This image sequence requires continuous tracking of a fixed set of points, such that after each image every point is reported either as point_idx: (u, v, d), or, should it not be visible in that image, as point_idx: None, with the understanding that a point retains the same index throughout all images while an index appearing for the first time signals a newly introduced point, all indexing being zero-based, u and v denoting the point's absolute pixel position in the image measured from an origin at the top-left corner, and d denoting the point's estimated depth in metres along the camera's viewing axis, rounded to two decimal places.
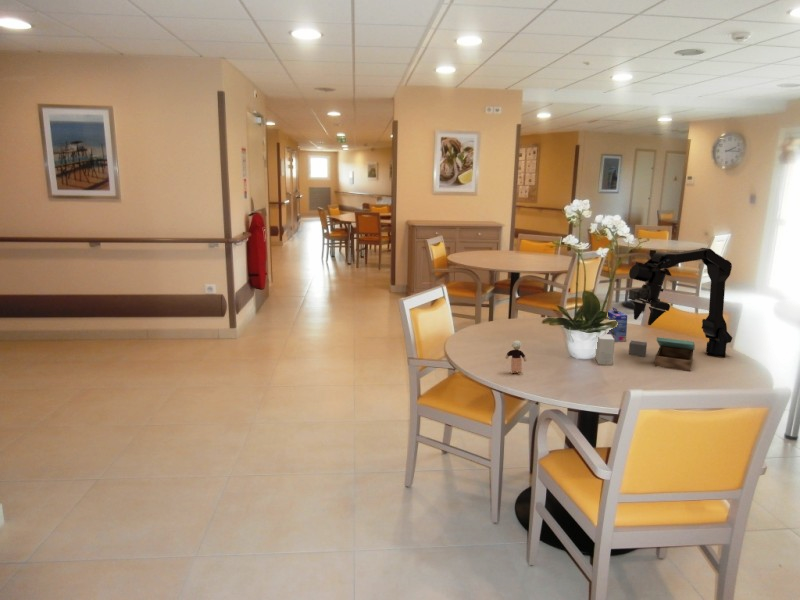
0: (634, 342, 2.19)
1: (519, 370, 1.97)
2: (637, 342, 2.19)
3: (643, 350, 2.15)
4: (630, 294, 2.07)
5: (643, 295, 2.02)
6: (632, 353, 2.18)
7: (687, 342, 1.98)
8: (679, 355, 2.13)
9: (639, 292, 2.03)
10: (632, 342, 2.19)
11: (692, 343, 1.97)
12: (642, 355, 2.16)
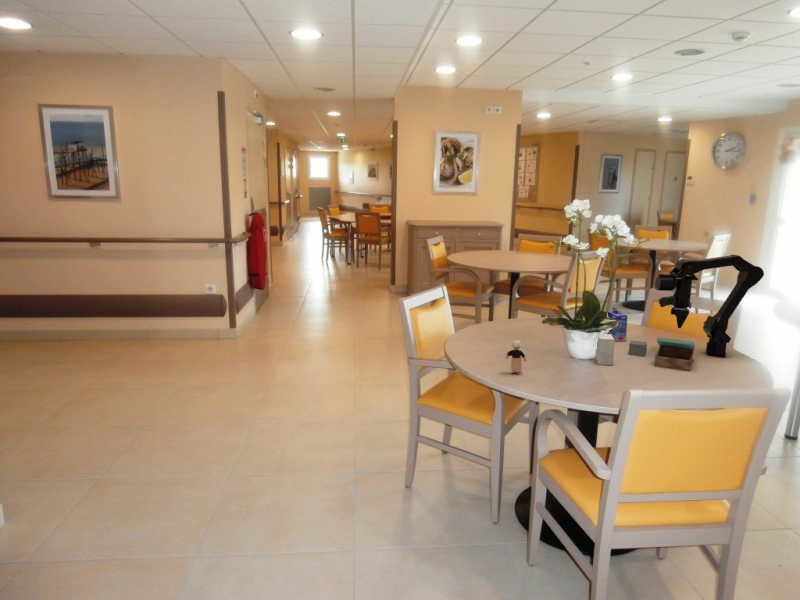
0: (634, 342, 2.19)
1: (519, 370, 1.97)
2: (637, 342, 2.19)
3: (643, 350, 2.15)
4: None
5: (664, 303, 2.14)
6: (632, 353, 2.18)
7: (687, 342, 1.98)
8: (679, 355, 2.13)
9: (660, 300, 2.16)
10: (632, 342, 2.19)
11: (692, 343, 1.97)
12: (642, 355, 2.16)
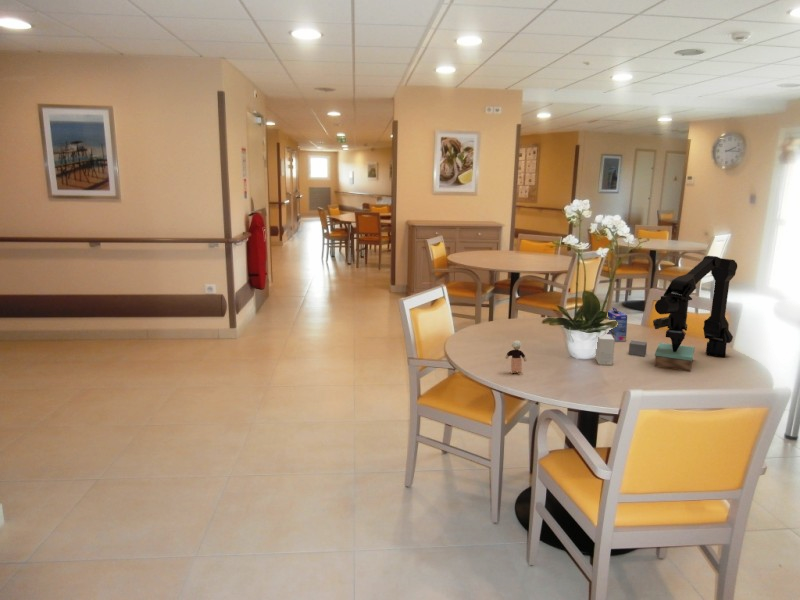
0: (634, 342, 2.19)
1: (519, 370, 1.97)
2: (637, 342, 2.19)
3: (643, 350, 2.15)
4: None
5: (658, 324, 2.02)
6: (632, 353, 2.18)
7: (685, 358, 1.98)
8: None
9: (655, 322, 2.04)
10: (632, 342, 2.19)
11: (690, 359, 1.97)
12: (642, 355, 2.16)
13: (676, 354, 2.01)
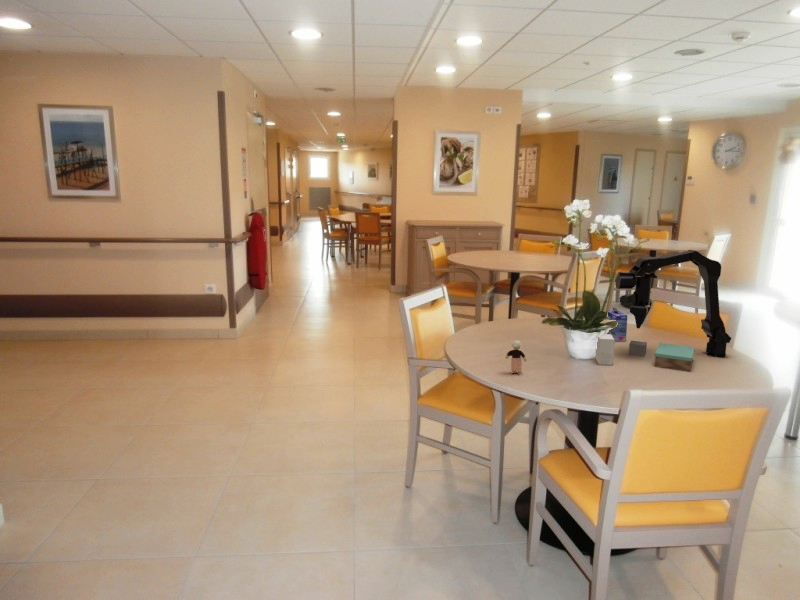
0: (634, 342, 2.19)
1: (519, 370, 1.97)
2: (637, 342, 2.19)
3: (643, 350, 2.15)
4: None
5: (624, 301, 2.14)
6: (632, 353, 2.18)
7: (685, 358, 1.98)
8: None
9: (621, 298, 2.16)
10: (632, 342, 2.19)
11: (690, 359, 1.97)
12: (642, 355, 2.16)
13: (676, 354, 2.01)
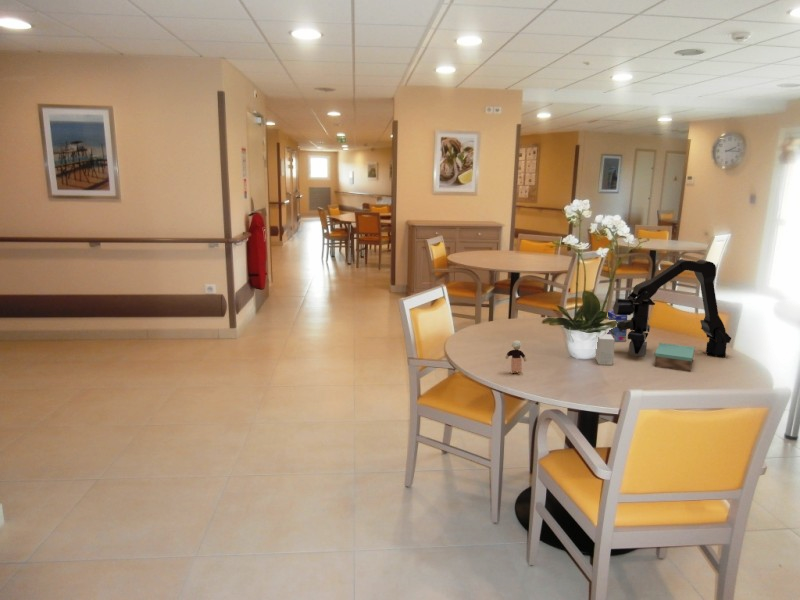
0: None
1: (519, 370, 1.97)
2: None
3: (643, 350, 2.15)
4: None
5: (622, 327, 2.17)
6: (632, 353, 2.18)
7: (685, 358, 1.98)
8: None
9: (619, 324, 2.18)
10: (632, 342, 2.19)
11: (690, 359, 1.97)
12: (642, 355, 2.16)
13: (676, 354, 2.01)
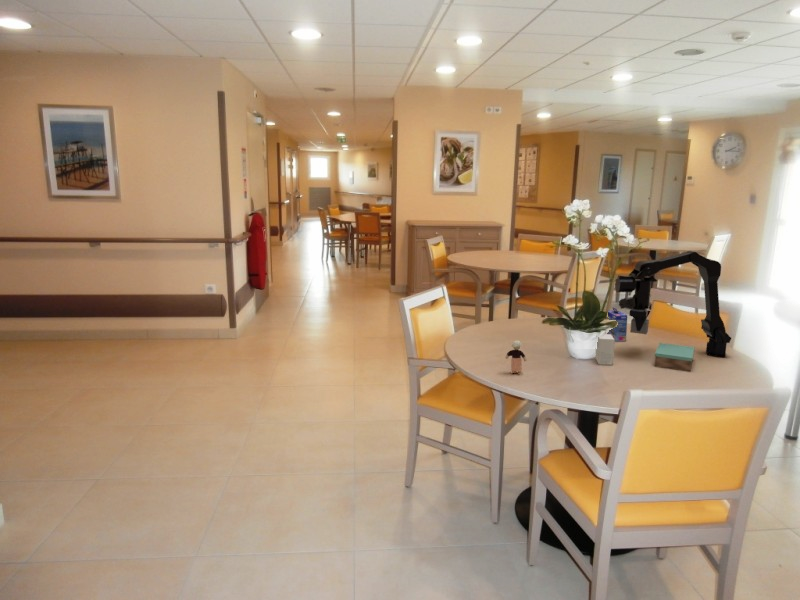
0: None
1: (519, 370, 1.97)
2: None
3: (645, 327, 2.14)
4: None
5: (623, 304, 2.15)
6: (634, 330, 2.16)
7: (685, 358, 1.98)
8: None
9: (620, 302, 2.16)
10: (634, 319, 2.17)
11: (690, 359, 1.97)
12: (644, 332, 2.14)
13: (676, 354, 2.01)
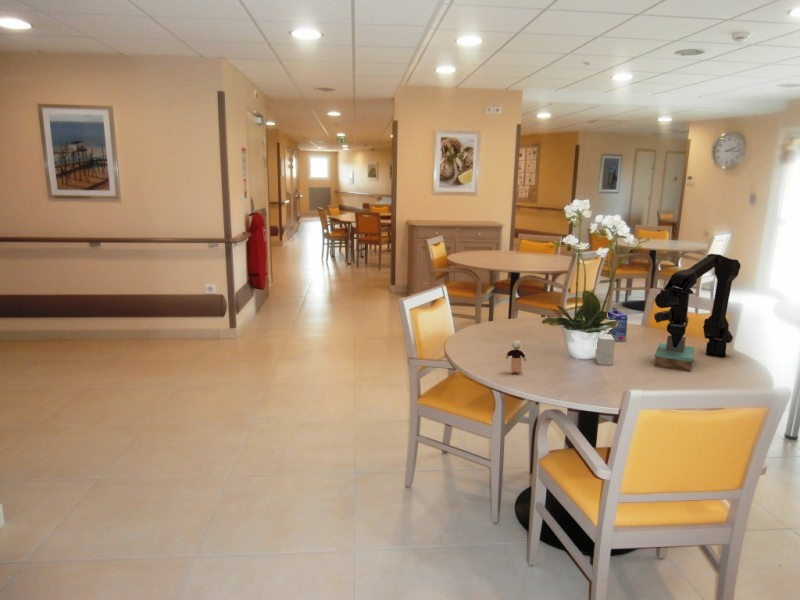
0: None
1: (519, 370, 1.97)
2: None
3: (682, 345, 2.03)
4: None
5: (660, 318, 2.04)
6: (670, 349, 2.06)
7: (685, 359, 1.98)
8: None
9: None
10: (670, 337, 2.07)
11: (690, 360, 1.97)
12: (681, 351, 2.04)
13: (676, 355, 2.01)
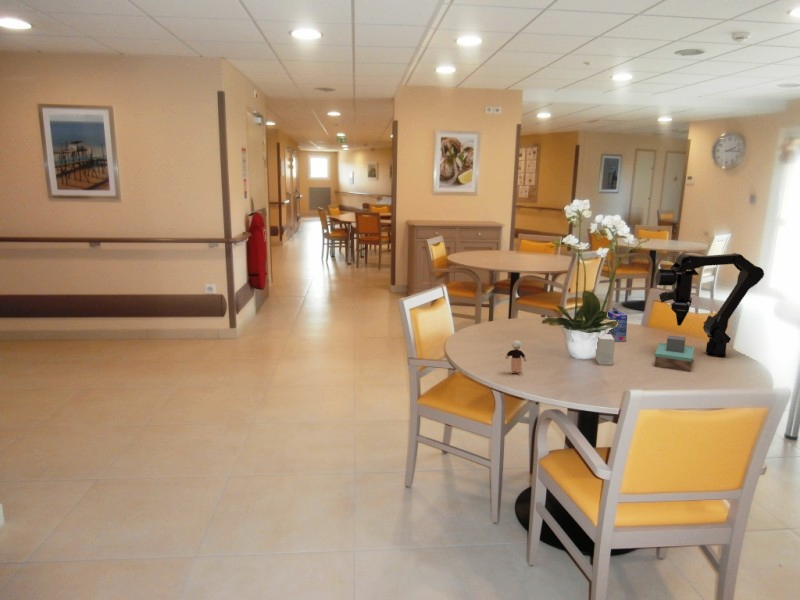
0: (672, 337, 2.07)
1: (519, 370, 1.97)
2: (675, 337, 2.07)
3: (682, 345, 2.03)
4: None
5: (665, 298, 2.14)
6: (670, 349, 2.06)
7: (685, 359, 1.98)
8: None
9: (661, 295, 2.16)
10: (670, 337, 2.07)
11: (690, 360, 1.97)
12: (681, 351, 2.04)
13: (676, 355, 2.01)
